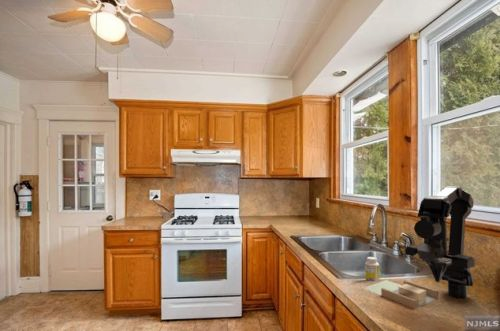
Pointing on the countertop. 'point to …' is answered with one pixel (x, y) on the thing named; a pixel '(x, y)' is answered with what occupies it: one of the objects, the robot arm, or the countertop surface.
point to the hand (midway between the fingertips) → (437, 281)
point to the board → (392, 293)
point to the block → (413, 293)
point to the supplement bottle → (372, 269)
